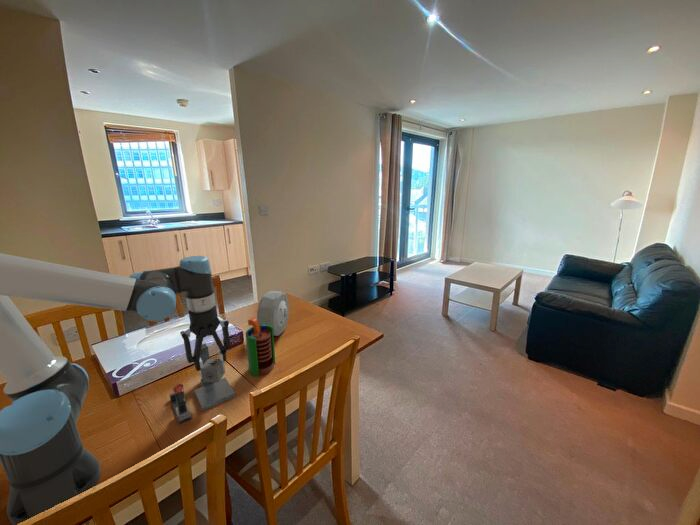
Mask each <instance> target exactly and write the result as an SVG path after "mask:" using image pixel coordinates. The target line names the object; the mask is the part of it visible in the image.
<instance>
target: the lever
mask: <svg viewBox="0 0 700 525" xmlns="http://www.w3.org/2000/svg"><path fill="white" fill-rule="evenodd" d="M184 389H185V386H184V384H182V383H176V384H175V385H174V386H173V388H172V391H173V392H172V393H175V397H176V402H177V407H176V413H177V416H178V419H179V422H180V421H182V420H185V419H187V418H189V417H191V416H192V415H191V416H190V414H191V411H190V408H189V406H188V402H185V401H186V397H185V393H184Z"/></svg>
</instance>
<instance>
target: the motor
mask: <svg viewBox="0 0 700 525" xmlns="http://www.w3.org/2000/svg"><path fill="white" fill-rule="evenodd" d="M247 323H248V326H251V327H249V328H248V329H247V330H246V331H245V340H246V343H245V344H246V351H247V354H246V355H247V363H248V373H249V374H250V375H251V376H252V377H257V378H258V377H259V376H261V375H262V376H263V375H267V374H269V373H271V372H272V371H273V370H274V367H275V366H274V364H276V356H275V355H276V354H275V353H276V352H275V340H274V339H275V338H274V337H275V336H274V335H273V327H272V326H270V325H259V322H258V320H257V318H255V317H251V318H249V319H248V320H247Z"/></svg>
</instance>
